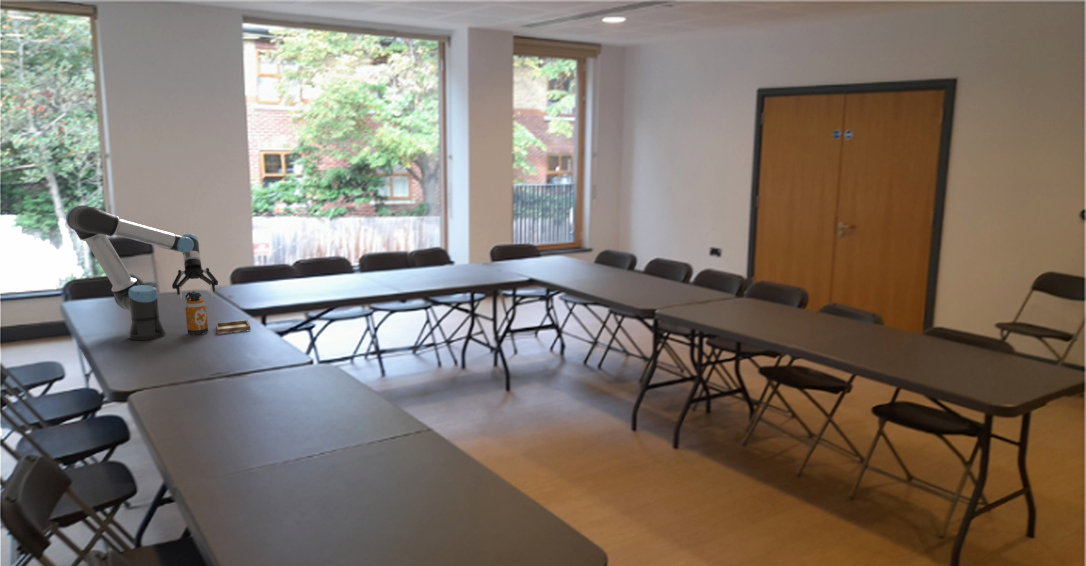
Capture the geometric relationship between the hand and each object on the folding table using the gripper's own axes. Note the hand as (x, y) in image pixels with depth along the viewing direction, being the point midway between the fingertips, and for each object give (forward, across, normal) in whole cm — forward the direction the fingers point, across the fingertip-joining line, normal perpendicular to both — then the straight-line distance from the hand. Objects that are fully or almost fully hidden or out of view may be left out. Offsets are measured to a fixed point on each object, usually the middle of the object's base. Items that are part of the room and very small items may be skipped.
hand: (197, 298), depth 365 cm
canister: (+15, +2, -7) cm, 17 cm away
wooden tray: (+16, -14, -6) cm, 22 cm away
